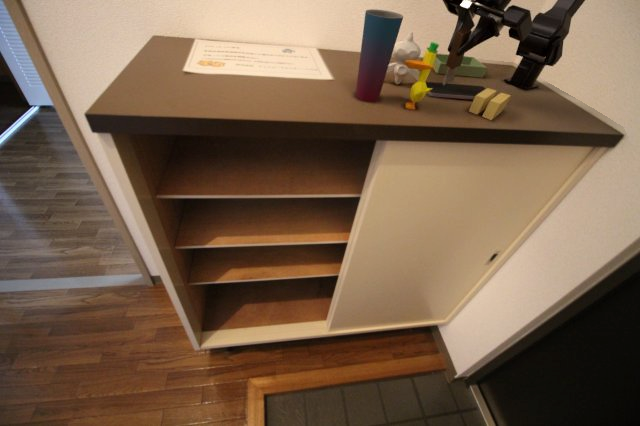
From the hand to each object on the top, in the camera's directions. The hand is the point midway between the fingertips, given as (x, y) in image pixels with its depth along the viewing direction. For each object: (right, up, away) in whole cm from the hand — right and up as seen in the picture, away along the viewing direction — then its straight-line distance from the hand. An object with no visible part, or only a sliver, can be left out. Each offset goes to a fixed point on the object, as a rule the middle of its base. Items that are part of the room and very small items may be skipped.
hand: (452, 53), depth 60 cm
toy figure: (-9, -11, 0) cm, 15 cm away
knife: (+2, -3, +6) cm, 7 cm away
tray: (+10, +7, +21) cm, 25 cm away
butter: (+8, -11, +2) cm, 14 cm away
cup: (-18, -9, +2) cm, 20 cm away
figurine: (-9, -3, +9) cm, 13 cm away
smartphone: (+5, -5, +8) cm, 11 cm away
